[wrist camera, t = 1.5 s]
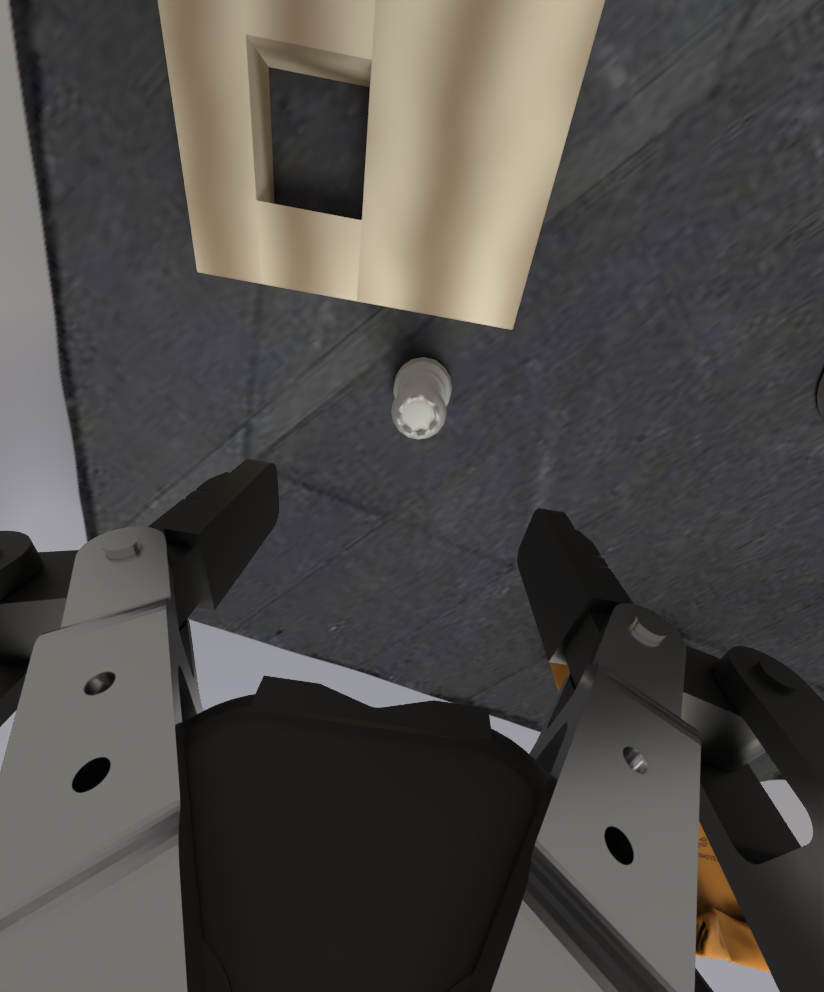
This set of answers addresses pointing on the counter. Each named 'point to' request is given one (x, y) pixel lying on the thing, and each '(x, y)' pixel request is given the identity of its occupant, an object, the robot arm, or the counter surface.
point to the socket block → (383, 142)
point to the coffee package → (711, 900)
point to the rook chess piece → (421, 398)
